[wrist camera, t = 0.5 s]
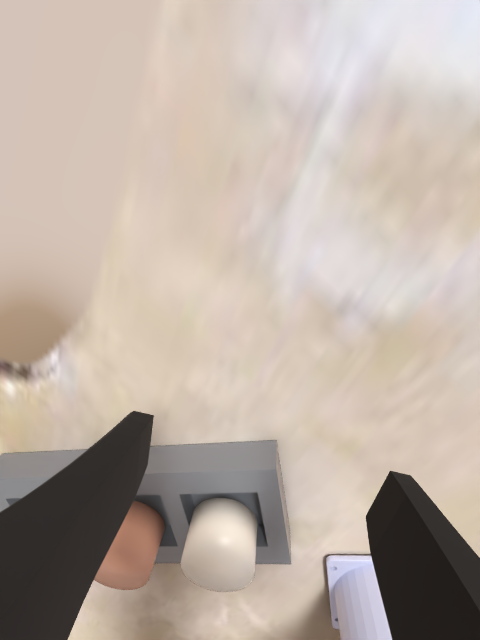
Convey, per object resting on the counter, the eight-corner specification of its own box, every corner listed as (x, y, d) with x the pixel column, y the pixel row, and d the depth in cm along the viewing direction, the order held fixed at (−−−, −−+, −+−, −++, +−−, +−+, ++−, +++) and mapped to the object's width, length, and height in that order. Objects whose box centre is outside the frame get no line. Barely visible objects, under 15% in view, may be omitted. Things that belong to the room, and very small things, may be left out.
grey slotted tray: (290, 531, 26) (291, 564, 23) (46, 532, 29) (27, 561, 27) (276, 440, 22) (276, 469, 20) (2, 453, 25) (-24, 479, 23)
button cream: (261, 542, 23) (259, 592, 20) (199, 542, 23) (189, 591, 21) (252, 497, 21) (248, 544, 18) (186, 498, 22) (172, 544, 19)
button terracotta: (171, 542, 24) (157, 590, 21) (114, 542, 24) (94, 589, 22) (155, 499, 22) (138, 544, 19) (95, 500, 23) (70, 544, 20)
